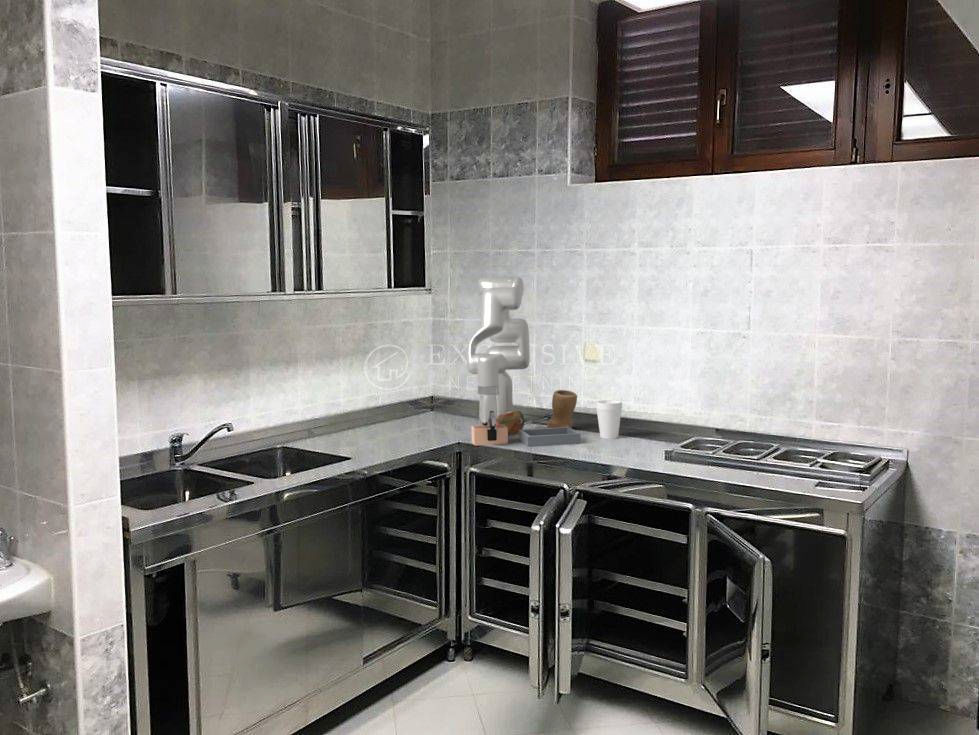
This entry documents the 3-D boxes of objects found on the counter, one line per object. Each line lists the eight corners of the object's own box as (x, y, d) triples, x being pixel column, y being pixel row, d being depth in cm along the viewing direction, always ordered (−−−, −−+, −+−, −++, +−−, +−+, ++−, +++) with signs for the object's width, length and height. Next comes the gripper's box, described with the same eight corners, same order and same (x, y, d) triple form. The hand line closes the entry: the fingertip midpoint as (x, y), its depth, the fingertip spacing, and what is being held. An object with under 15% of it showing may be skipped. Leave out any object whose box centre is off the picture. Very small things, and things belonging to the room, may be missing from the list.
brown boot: (575, 432, 327) (575, 393, 325) (544, 431, 329) (543, 392, 328) (580, 425, 341) (579, 387, 340) (550, 425, 344) (549, 387, 342)
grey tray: (518, 439, 316) (518, 429, 315) (569, 436, 319) (569, 426, 319) (527, 446, 302) (527, 436, 301) (580, 443, 305) (580, 433, 305)
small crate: (471, 442, 312) (471, 426, 312) (504, 440, 315) (503, 424, 314) (474, 446, 306) (474, 429, 305) (507, 444, 308) (507, 427, 308)
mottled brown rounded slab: (501, 437, 320) (501, 415, 319) (495, 436, 322) (494, 414, 321) (525, 431, 332) (524, 409, 331) (518, 430, 334) (518, 408, 333)
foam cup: (592, 438, 314) (592, 403, 313) (601, 434, 322) (601, 399, 321) (617, 440, 310) (617, 404, 308) (625, 435, 318) (625, 400, 317)
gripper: (473, 388, 316) (474, 434, 318) (482, 394, 299) (483, 443, 301) (493, 387, 317) (494, 433, 319) (503, 393, 301) (504, 441, 302)
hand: (489, 438), depth 310 cm, fingers open, 9 cm apart
